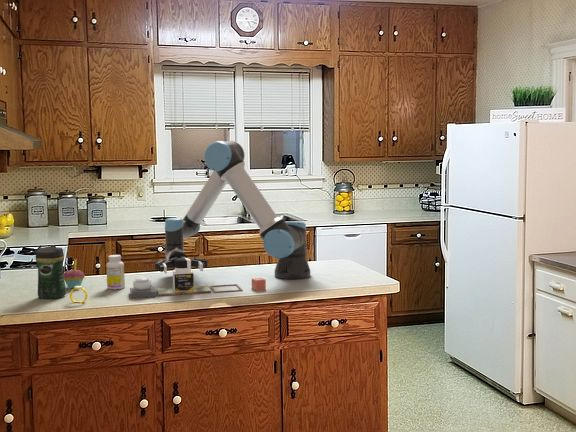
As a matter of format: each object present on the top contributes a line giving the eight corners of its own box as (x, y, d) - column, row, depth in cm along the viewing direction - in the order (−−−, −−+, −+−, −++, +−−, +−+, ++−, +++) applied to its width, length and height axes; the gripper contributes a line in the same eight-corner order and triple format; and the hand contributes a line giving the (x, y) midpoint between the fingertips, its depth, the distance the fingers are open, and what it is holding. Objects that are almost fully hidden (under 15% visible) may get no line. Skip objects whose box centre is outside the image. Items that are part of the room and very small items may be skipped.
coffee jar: (69, 294, 249) (67, 245, 247) (59, 299, 241) (57, 249, 239) (44, 294, 250) (42, 245, 248) (34, 299, 242) (31, 248, 240)
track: (207, 287, 260) (207, 285, 259) (211, 292, 250) (211, 290, 250) (156, 290, 254) (156, 288, 254) (158, 296, 245) (158, 294, 245)
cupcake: (89, 286, 262) (88, 256, 261) (72, 290, 255) (71, 260, 254) (74, 284, 267) (73, 254, 265) (57, 288, 260) (56, 258, 258)
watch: (88, 302, 238) (88, 286, 237) (85, 304, 235) (85, 288, 235) (71, 301, 238) (72, 285, 238) (68, 303, 236) (69, 286, 235)
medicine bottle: (174, 292, 248) (173, 260, 246) (173, 288, 255) (172, 257, 253) (194, 291, 250) (193, 259, 248) (191, 287, 256) (191, 256, 255)
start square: (237, 285, 263) (237, 284, 263) (242, 290, 253) (242, 289, 253) (210, 286, 260) (210, 285, 260) (214, 292, 250) (214, 291, 250)
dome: (151, 285, 251) (150, 276, 251) (152, 289, 245) (151, 280, 244) (133, 286, 249) (132, 277, 249) (133, 290, 243) (133, 281, 243)
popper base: (154, 291, 253) (154, 285, 253) (155, 296, 244) (155, 290, 244) (130, 293, 251) (129, 287, 250) (130, 298, 242) (130, 292, 242)
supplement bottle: (115, 285, 264) (114, 253, 262) (128, 287, 261) (127, 254, 259) (103, 289, 258) (102, 256, 256) (116, 290, 255) (115, 257, 253)
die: (261, 287, 258) (260, 277, 258) (265, 289, 255) (265, 279, 254) (251, 288, 256) (251, 278, 256) (256, 290, 253) (256, 280, 252)
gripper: (146, 251, 267) (150, 260, 247) (207, 248, 274) (216, 257, 254) (146, 270, 268) (150, 280, 248) (208, 266, 275) (216, 276, 255)
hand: (184, 268), depth 251 cm, fingers open, 13 cm apart
